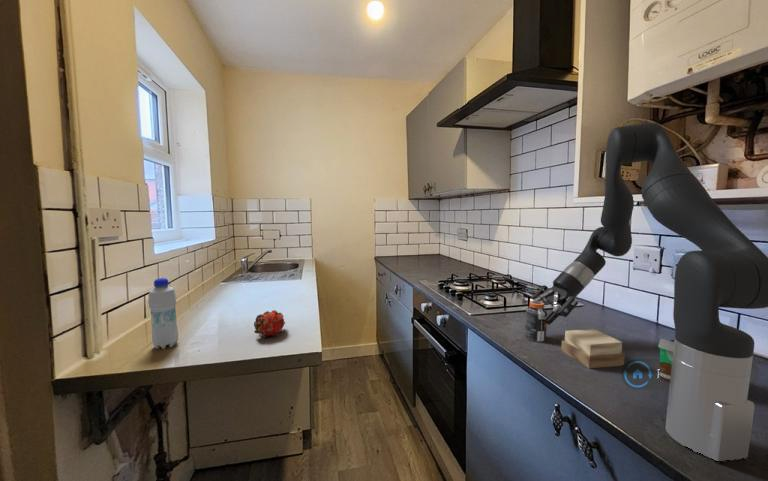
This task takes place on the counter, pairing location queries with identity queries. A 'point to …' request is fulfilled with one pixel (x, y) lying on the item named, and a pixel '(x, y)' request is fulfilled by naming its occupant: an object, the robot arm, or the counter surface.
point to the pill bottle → (535, 322)
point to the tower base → (592, 358)
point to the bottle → (163, 314)
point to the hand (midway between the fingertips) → (537, 317)
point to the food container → (666, 358)
